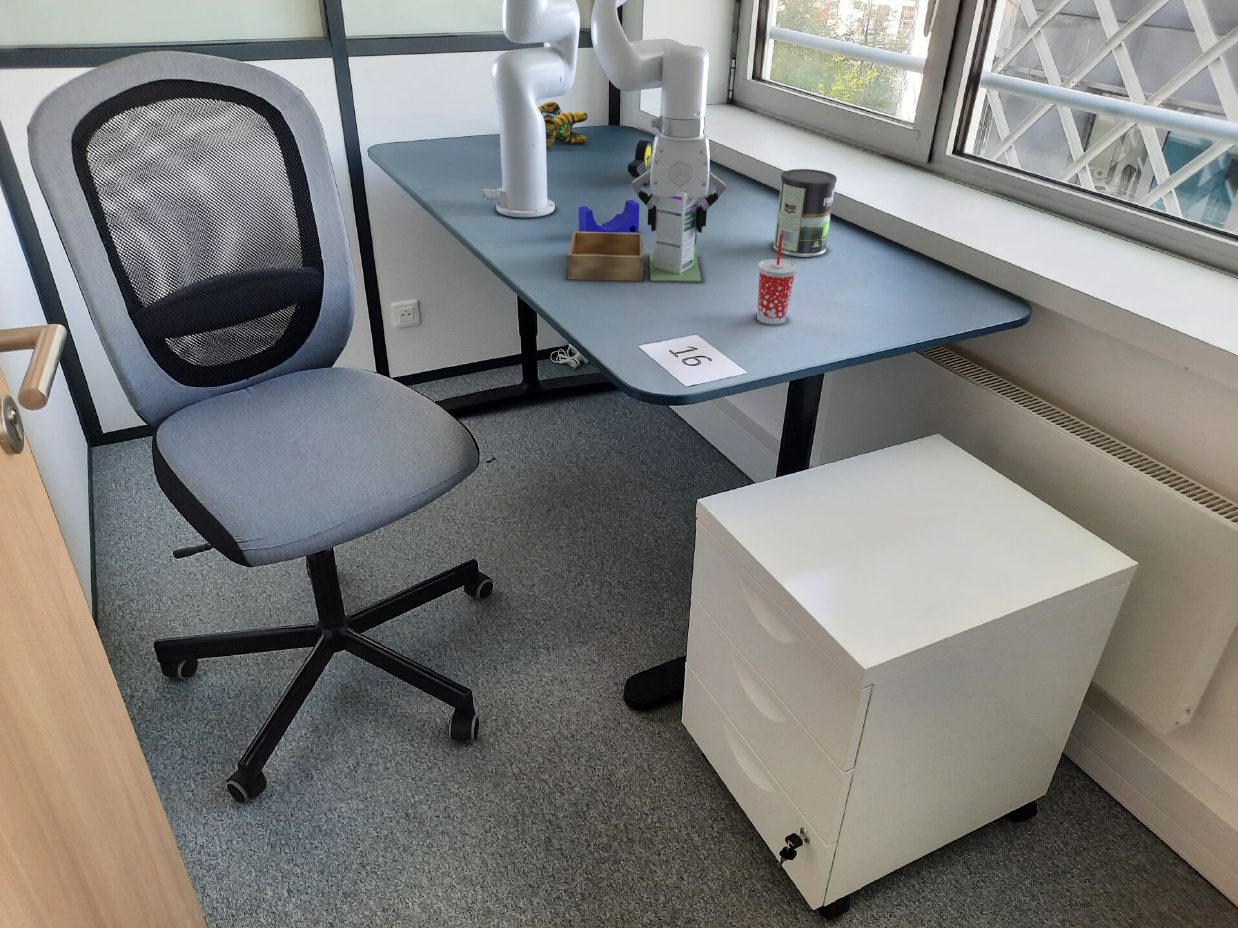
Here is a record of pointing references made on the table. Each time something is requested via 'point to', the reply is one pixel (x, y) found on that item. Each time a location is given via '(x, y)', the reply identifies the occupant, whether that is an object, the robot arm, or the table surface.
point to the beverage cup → (775, 288)
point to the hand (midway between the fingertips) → (676, 229)
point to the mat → (686, 276)
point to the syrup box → (676, 233)
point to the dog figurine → (561, 124)
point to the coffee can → (804, 212)
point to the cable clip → (618, 224)
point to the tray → (606, 256)
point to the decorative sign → (641, 159)
